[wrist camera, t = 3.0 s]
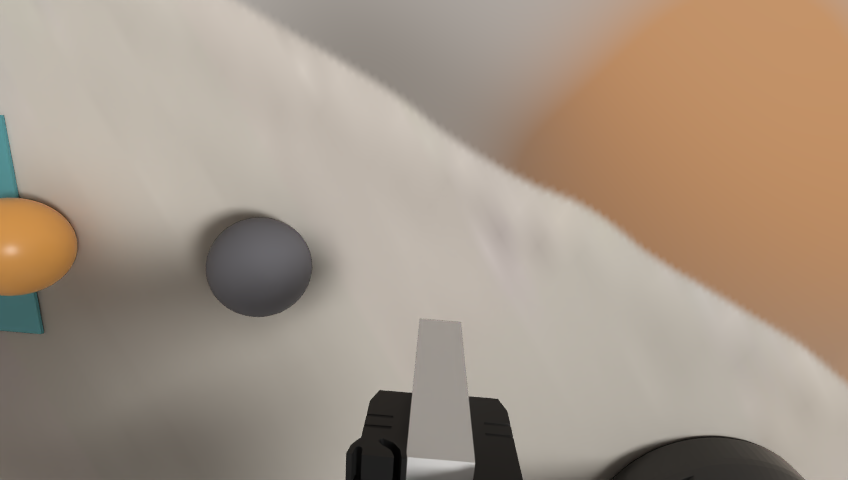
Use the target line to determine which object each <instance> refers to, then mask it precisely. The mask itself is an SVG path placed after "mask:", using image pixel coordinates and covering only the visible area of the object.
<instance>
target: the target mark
mask: <svg viewBox="0 0 848 480" xmlns="http://www.w3.org/2000/svg"><path fill="white" fill-rule="evenodd" d="M0 198H19V195H18V190H17V184H16V179H15V173H14V168H13V163H12V157H11V152H10V146H9V141H8V136H7V130H6V125H5V119H4V115H0ZM0 331H12V332H23V333H35V334H42V333H44V330H43V325H42V319H41V314H40V308H39V303H38V298H37V292H33V293H30V294H25V295H16V296H1V295H0Z"/></svg>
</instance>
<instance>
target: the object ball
mask: <svg viewBox="0 0 848 480" xmlns="http://www.w3.org/2000/svg"><path fill="white" fill-rule="evenodd" d="M76 254H77V238H76V235H75V232H74V230H73V228H72V226H71V225H70V223H69V222H68V221H67V220H66V219H65V218H64V217H63V216H62V215H61V214H60V213H59V212H57V211H56V210H54V209H53V208H51V207H49V206H47V205H45V204H42V203H40V202H36V201H33V200H29V199H22V198H0V295H1V296H16V295H25V294H30V293H33V292H37V291H40V290H42V289H45V288H47V287H49V286H51V285H52V284H54V283H56V282H57V281H58V280H60V279H61V278H62V277H63V276H64V275H65V274H66V273H67V272H68V271H69V269H70V268H71V266H72V265H73V263H74V261H75V258H76Z"/></svg>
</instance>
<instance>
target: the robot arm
mask: <svg viewBox="0 0 848 480" xmlns="http://www.w3.org/2000/svg"><path fill="white" fill-rule="evenodd" d="M346 480H523V479H522V474H521V470H520V466H519V461H518V457H517V452H516V448H515V443H514V439H513V435H512V430H511V427H510V421H509V417H508V413H507V410H506V409H505V408H504V406H503V405H502V404H501V403H500V401H499V400H498V399H492V398H481V397H469V396H468V387H467V377H466V367H465V358H464V348H463V338H462V328H461V322H455V321H443V320H431V319H420V320H419V330H418V340H417V351H416V361H415V371H414V381H413V391H412V393H407V392H395V391H383V390H380V391H379V392H378V393H377V394H376V395H375V396H374V397H373V398H372V399H371V400H370V403H369V407H368V412H367V416H366V420H365V424H364V428H363V432H362V436H361V438H359V439H358V440H357V441H355V442H354V443H353V444H352V445H351V446H350V448H349V450H348V451H347V453H346ZM613 480H805V479H804V478H803V477H802V476H801V475H800V474H799V473H798V472H797V471H796V470H795V469H794V468H793V467H792V466H791V465H790V464H789V463H787V462H786V461H785V460H784V459H783V458H781V457H780V456H778V455H777V454H775V453H774V452H772V451H770V450H768V449H766V448H764V447H761V446H759V445H756V444H753V443H750V442H746V441H742V440H736V439H729V438H698V439H690V440H685V441H680V442H676V443H673V444H669V445H666V446H664V447H661V448H658V449H656V450H654V451H651V452H649V453H647V454H645V455H644V456H642V457H640V458H638V459H637V460H635V461H634V462H632V463H631V464H629V465H628V466H627V467H626V468H624V469H623V470H622V471H621V472H620V473H619V474H617V475H616V476H615V478H614V479H613Z"/></svg>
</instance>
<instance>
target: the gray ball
mask: <svg viewBox="0 0 848 480" xmlns="http://www.w3.org/2000/svg"><path fill="white" fill-rule="evenodd" d="M311 273H312V259H311V254H310V251H309V248H308V246H307V244H306V242H305V241H304V239H303V238H302V237H301V235H300V234H299V233H298V232H297V231H296V230H295V229H293V228H292V227H290V226H289V225H287V224H285V223H283V222H281V221H278V220H275V219H271V218H260V217H258V218H249V219H245V220H242V221H239V222H237V223H234V224H233V225H231V226H229V227H228V228H227V229H225V230H224V231H223V232H222V233H221V234H220V235H219V236H218V237H217V238H216V239H215V241H214V243H213V244H212V246H211V248H210V250H209V253H208V256H207V261H206V276H207V280H208V283H209V286H210V288H211V290H212V292H213V294H214V295H215V297H216V298H217V299H218V300H219V301H220V302H221V303H222V304H223V305H224V306H226V307H227V308H229V309H230V310H232V311H234V312H236V313H239V314H242V315H245V316H252V317H264V316H270V315H274V314H277V313H280V312H282V311H284V310H286V309H287V308H289V307H290V306H292V305H293V304H294V303H295V302H296V301H297V300H298V299H299V298H300V297H301V296H302V295H303V293H304V292H305V290H306V288H307V286H308V284H309V281H310V278H311Z"/></svg>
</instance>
